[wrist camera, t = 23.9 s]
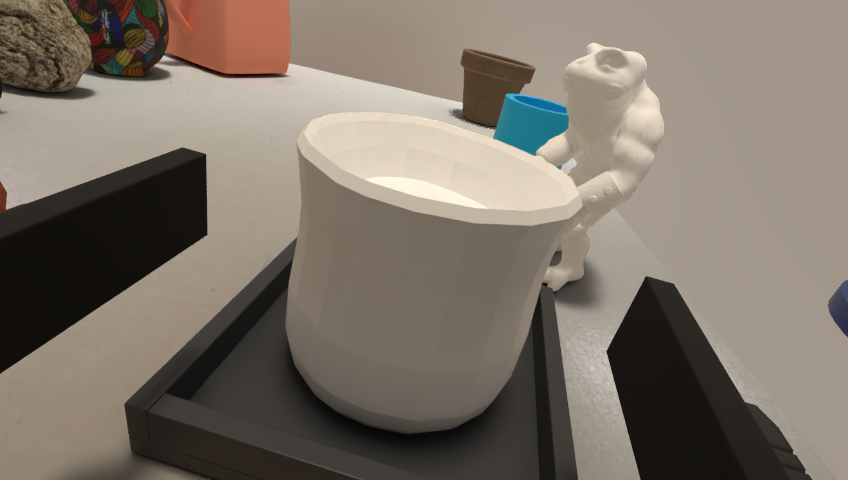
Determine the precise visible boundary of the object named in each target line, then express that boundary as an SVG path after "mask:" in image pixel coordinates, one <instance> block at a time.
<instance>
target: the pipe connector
mask: <svg viewBox="0 0 848 480" xmlns="http://www.w3.org/2000/svg"><path fill="white" fill-rule="evenodd" d="M1 95H2V81H1V77H0V97H1Z"/></svg>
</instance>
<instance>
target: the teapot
mask: <svg viewBox="0 0 848 480" xmlns="http://www.w3.org/2000/svg"><path fill="white" fill-rule="evenodd" d="M165 4H166V9H167V14H168V21H169V42H168V46H167V49H166V52H169V53H171V54H173V55H176V56H178V57H180V58H183V59H185V60H188V61H191V62H193V63H196V64H199V65H202V66H204V67H207V68H210V69H213V70H215V71H218V72H222V73H227V74H262V73H286V72H287V69H288V64H289V60H290V15H289V0H165Z"/></svg>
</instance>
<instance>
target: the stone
mask: <svg viewBox="0 0 848 480" xmlns="http://www.w3.org/2000/svg"><path fill="white" fill-rule="evenodd" d="M91 60H92V54H91V42H90V39H89V37H88V35H87V34H86V33H85V32H84V30H83V29H82V27H80V26H79V25H78V24H77V22H76V20H75V19H74V18H73V16H72V14H71V12H70V11H69V9H68V8H67V6H66V5H65V4H64V2H63V0H0V77H1V81H2V82H3V83H6V84H9V85H12V86H15V87H18V88H29V89H34V90H36V91H41V92H61V91H67V90H69V89H72V88H73V87H74V86H75V85H76V84H77V83H78V81H79V80H80V78H81V76H82V75H83V74H84V73H85V70H86V69H87V68H88V66H89V64H90V63H91Z"/></svg>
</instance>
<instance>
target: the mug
mask: <svg viewBox="0 0 848 480" xmlns="http://www.w3.org/2000/svg"><path fill="white" fill-rule="evenodd" d="M568 127H569V117H568V113H567V110H566V106H564V105H561V104H558V103H555V102H551V101H548V100H544V99H540V98H536V97H531V96H526V95H520V94H506V96H505V100H504V103H503V107H502V110H501V114H500V117H499V121H498V124H497V128H496V131H495V135H494V138H493V139H495V140H498V141H501V142H503V143H506V144H508V145H510V146H513V147H515V148H518V149H520V150H522V151H525V152H527V153H529V154H531V155H533V156H537V155H536V151H537V150H538V149H539V148H540V147H541V146H544V145H545V144H546V143H547V142H548V140H550V139H552V138H554V137H556V136H559V135H560V134H562V133H564V132H565V131H566V130H567V129H568ZM561 167H562V165H560V166H557V167H556V168H558V169H559V170H561Z"/></svg>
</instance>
